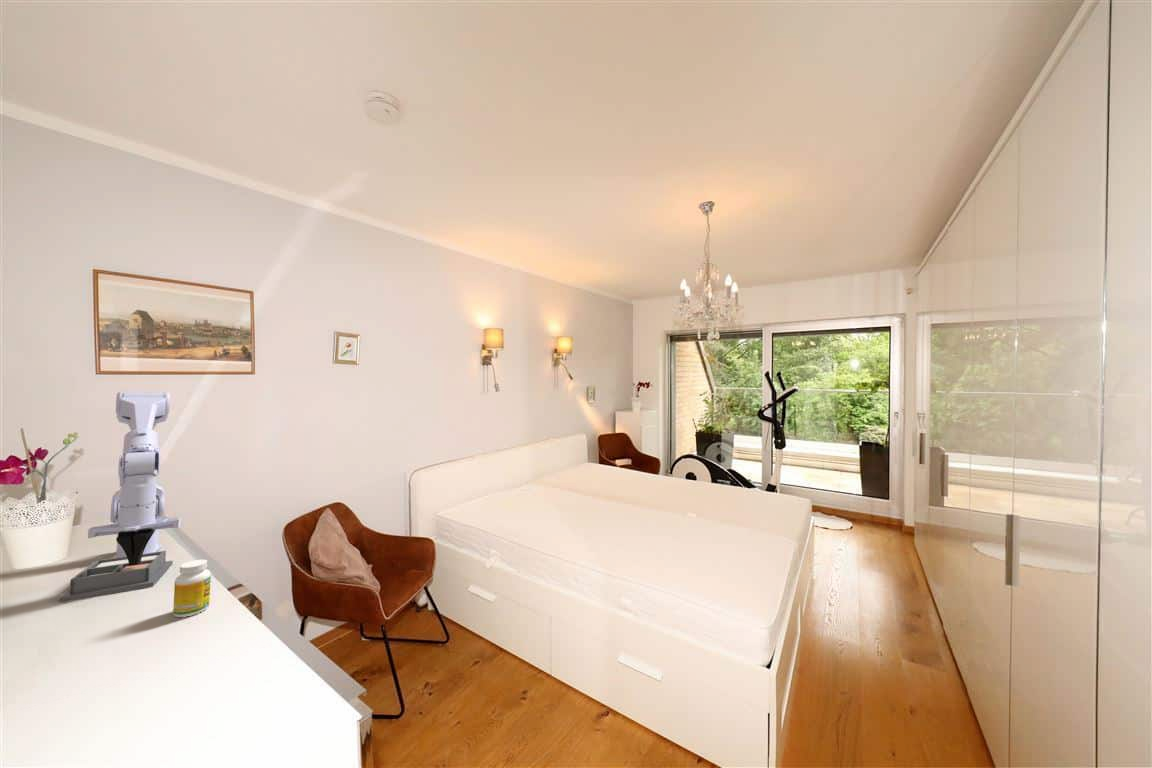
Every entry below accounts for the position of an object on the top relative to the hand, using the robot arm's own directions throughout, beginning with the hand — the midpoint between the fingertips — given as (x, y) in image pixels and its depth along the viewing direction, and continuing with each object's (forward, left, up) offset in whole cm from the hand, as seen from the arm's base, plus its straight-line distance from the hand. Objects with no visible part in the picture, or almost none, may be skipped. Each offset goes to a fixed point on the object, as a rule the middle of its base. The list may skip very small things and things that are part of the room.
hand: (134, 563), depth 93 cm
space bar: (-6, -3, -3) cm, 7 cm away
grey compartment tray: (-3, -3, -4) cm, 6 cm away
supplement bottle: (+22, +14, -5) cm, 27 cm away
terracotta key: (0, 0, -2) cm, 2 cm away
